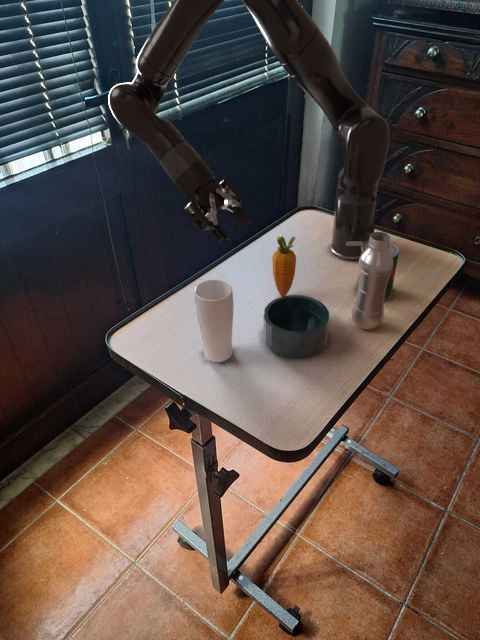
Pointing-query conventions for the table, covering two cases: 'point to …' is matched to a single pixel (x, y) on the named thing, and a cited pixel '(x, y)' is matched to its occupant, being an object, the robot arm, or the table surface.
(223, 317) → the drinking glass
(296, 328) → the pot
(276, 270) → the carrot
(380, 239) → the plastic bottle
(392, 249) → the canned tomato
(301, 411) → the table surface
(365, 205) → the robot arm
